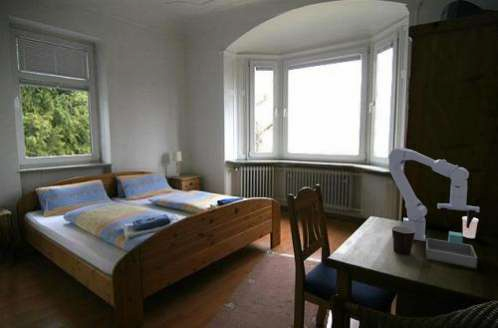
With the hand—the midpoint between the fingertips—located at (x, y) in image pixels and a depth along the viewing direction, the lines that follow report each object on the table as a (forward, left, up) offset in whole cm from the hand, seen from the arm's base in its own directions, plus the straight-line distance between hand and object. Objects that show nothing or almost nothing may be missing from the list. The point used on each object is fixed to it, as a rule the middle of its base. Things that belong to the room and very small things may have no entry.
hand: (456, 226), depth 123 cm
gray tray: (-3, -13, -10) cm, 16 cm away
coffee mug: (-20, -19, -10) cm, 29 cm away
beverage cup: (+7, +18, -10) cm, 22 cm away
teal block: (0, 0, -10) cm, 10 cm away
